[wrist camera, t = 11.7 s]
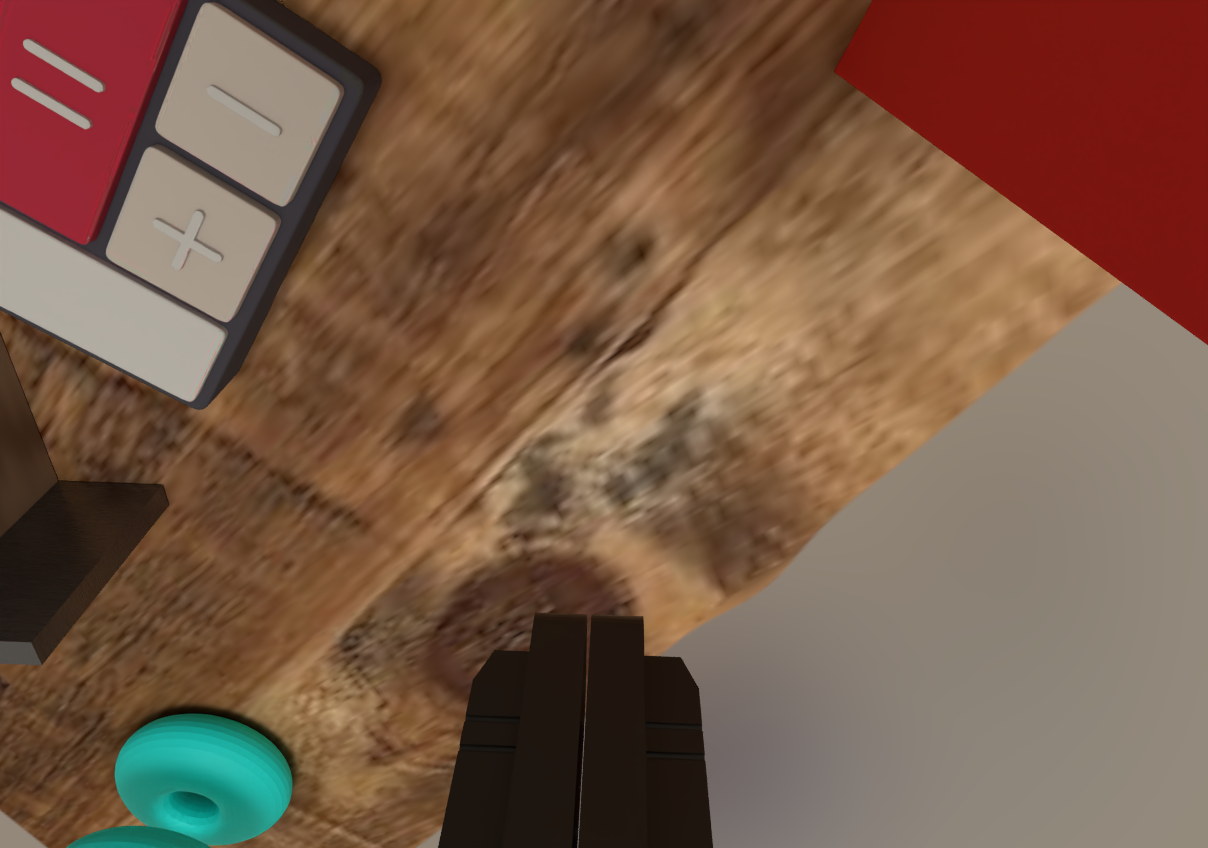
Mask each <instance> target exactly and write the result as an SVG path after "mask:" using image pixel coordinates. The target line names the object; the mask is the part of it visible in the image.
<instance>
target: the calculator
mask: <svg viewBox="0 0 1208 848" xmlns="http://www.w3.org/2000/svg"><path fill="white" fill-rule="evenodd" d="M380 85H381V76H380V73H379V72H378V70H377V69H376V68H375V67H374V66H372V65H371V64H369V63H368V62H367V61H365V60H364V59H362V58H361V57H359V56H358V55H356V54H355V53H353V52H352V51H350V50H349V49H347V48H346V47H344V46H343V45H341V44H340V43H338V42H337V41H335V40H334V39H332V38H331V37H329V36H328V35H326V34H325V33H323V32H322V31H320V30H319V29H318V28H316V27H315V26H313V25H312V24H310V23H309V22H307V21H306V20H304V19H303V18H301V17H300V16H298V15H297V14H295V13H294V12H292V11H291V10H289V9H288V8H286V7H285V6H283V5H282V4H280V3H279V2H277V1H276V0H0V310H2V311H4V312H5V313H7V314H9V315H11V316H13V317H15V318H17V319H19V320H21V321H23V322H25V323H27V324H29V325H31V326H33V327H35V328H37V329H39V330H41V331H43V332H45V333H46V334H48V335H50V336H52V337H54V338H56V339H58V340H60V341H62V342H64V343H66V344H68V345H70V346H72V347H74V348H76V349H78V350H80V351H82V352H84V353H86V354H88V355H89V356H91V357H93V358H95V359H97V360H99V361H101V362H103V363H105V364H107V365H109V366H111V367H113V368H115V369H117V370H119V371H121V372H123V373H125V374H127V375H129V376H131V377H132V378H134V379H136V380H138V381H140V382H142V383H144V384H146V385H148V386H150V387H152V388H154V389H156V390H158V391H160V392H162V393H164V394H166V395H168V396H170V397H172V398H174V399H175V400H177V401H179V402H181V403H183V404H185V405H187V406H189V407H191V408H194V409H198V410H200V409H204V408H206V407H207V406H208V405H209V404H210V403H211V402H212V401H213V400H214V399H215V397H216V396H217V395H218V394H219V393H220V392H221V391H222V390H223V389H224V387H225V386H226V385H227V384H228V383H229V382H230V381H231V380H232V379H233V377H234V376H235V375H236V374H237V373H238V371H239V370H240V368H241V366H242V364H243V362H244V360H245V358H246V356H247V354H248V352H249V350H250V348H251V346H252V344H253V342H254V340H255V338H256V336H257V334H258V332H259V330H260V328H261V326H262V324H263V322H264V320H265V318H266V316H267V314H268V312H269V309H270V307H271V305H272V302H273V299H274V297H275V295H276V293H277V291H278V289H279V287H280V285H281V283H282V281H283V279H284V277H285V275H286V273H287V271H288V269H289V267H290V265H291V263H292V261H293V259H294V257H295V256H296V254H297V252H298V250H299V248H300V246H301V244H302V242H303V240H304V238H305V236H306V234H307V232H308V230H309V228H310V226H311V224H312V222H313V220H314V218H315V216H316V214H317V212H318V210H319V208H320V206H321V204H322V202H323V200H324V198H325V196H326V194H327V192H328V190H329V188H330V186H331V184H332V182H333V180H334V178H335V176H336V174H337V172H338V170H339V168H340V166H341V164H342V162H343V160H344V158H345V156H346V154H347V152H348V150H349V148H350V146H351V144H352V142H353V140H354V138H355V136H356V134H357V132H358V130H359V128H360V126H361V124H362V122H363V120H364V118H365V116H366V114H367V112H368V110H369V108H370V106H371V104H372V102H373V100H374V98H375V96H376V94H377V92H378V90H379V88H380Z"/></svg>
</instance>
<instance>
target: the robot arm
mask: <svg viewBox="0 0 1208 848" xmlns="http://www.w3.org/2000/svg"><path fill="white" fill-rule="evenodd" d="M586 656H587V615H586V614H560V613H535V616H534V622H533V629H532V636H531V643H530V651H529V652H528V651H503V650H494V652H493V653H492V655H491V656H490V657H489V659H488V660H487V661H486V663H485V664H484V666H483V667H482V668H481V670H480V671H479V672H478V674H477V675H476V676H475V678H474V679H473V683H472V687H471V692H470V697H469V702H468V707H467V711H466V720H465V722H464V726H463V731H462V735H461V740H460V749H459V751H458V755H457V759H456V764H455V769H454V774H453V779H452V783H451V788H450V793H449V798H448V803H447V807H446V812H445V817H444V822H443V827H442V832H441V836H440V841H439V846H438V848H577V844H578V828H579V810H580V792H581V775H582V759H583V775H582V792H581V812H580V828H579V845H578V848H713V843H712V831H711V820H710V809H709V798H708V787H707V775H706V764H705V760H704V754H705V753H704V741H703V731H702V719H701V707H700V696H699V688H698V686H697V685H696V683H695V681H694V679H693V678H692V676H691V674H690V672H689V671H688V669H687V667H686V666H685V664H684V662H683V660H682V659H681V658H680V657H661V656H644V621H643V616H618V615H592V617H591V633H590V651H589V669H588V686H587V704H586V722H585V698H586ZM584 722H585V740H584ZM583 741H584V757H583Z"/></svg>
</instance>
